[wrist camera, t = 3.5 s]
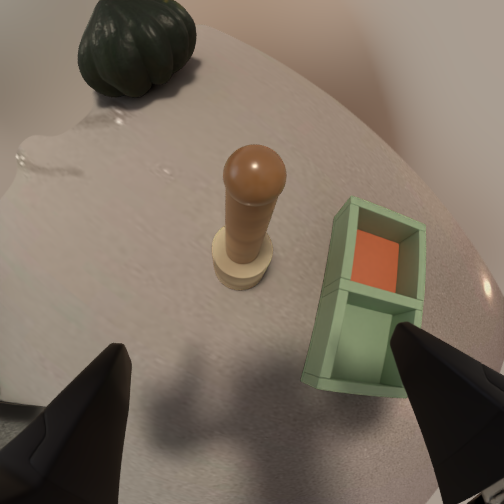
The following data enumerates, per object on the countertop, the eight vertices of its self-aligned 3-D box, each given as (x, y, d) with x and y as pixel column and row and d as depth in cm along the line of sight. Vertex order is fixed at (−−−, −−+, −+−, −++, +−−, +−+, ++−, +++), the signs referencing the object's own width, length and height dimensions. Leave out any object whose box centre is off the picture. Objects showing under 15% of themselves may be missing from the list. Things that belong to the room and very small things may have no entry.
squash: (234, 46, 24) (178, -41, 15) (115, 110, 20) (53, 8, 11) (187, 74, 35) (146, 7, 26) (104, 126, 31) (59, 52, 22)
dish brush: (274, 259, 22) (331, 150, 9) (247, 300, 21) (278, 229, 8) (233, 232, 22) (242, 104, 10) (204, 271, 21) (175, 167, 9)
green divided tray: (381, 392, 19) (407, 398, 15) (299, 381, 19) (316, 389, 15) (402, 240, 24) (425, 224, 20) (333, 216, 24) (351, 194, 20)
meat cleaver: (120, 554, 10) (109, 572, 6) (44, 532, 8) (29, 544, 5) (38, 253, 21) (15, 237, 17) (-22, 270, 19) (-43, 259, 15)
